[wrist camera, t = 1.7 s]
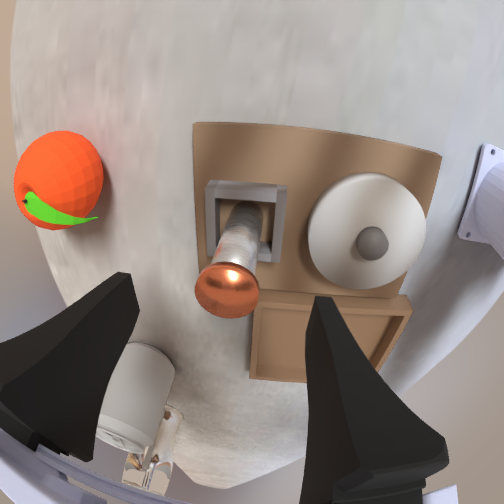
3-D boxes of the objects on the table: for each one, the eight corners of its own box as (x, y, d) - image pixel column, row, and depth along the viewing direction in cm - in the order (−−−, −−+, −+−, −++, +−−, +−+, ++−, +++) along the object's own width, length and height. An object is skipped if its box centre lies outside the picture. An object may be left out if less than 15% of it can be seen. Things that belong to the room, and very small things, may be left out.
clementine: (145, 150, 18) (86, 187, 12) (117, 224, 22) (69, 277, 16) (66, 109, 16) (-2, 132, 10) (49, 181, 20) (-6, 220, 14)
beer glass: (188, 410, 39) (166, 495, 26) (183, 423, 42) (164, 497, 30) (145, 396, 38) (117, 479, 26) (145, 411, 42) (121, 483, 29)
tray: (406, 295, 22) (413, 310, 21) (368, 368, 29) (370, 383, 27) (256, 283, 23) (254, 300, 22) (251, 363, 29) (249, 378, 28)
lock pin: (269, 198, 18) (260, 273, 12) (266, 236, 20) (256, 321, 13) (226, 195, 18) (192, 266, 12) (226, 233, 20) (197, 314, 13)
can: (173, 345, 29) (139, 443, 19) (180, 380, 33) (156, 463, 23) (113, 331, 30) (71, 417, 20) (128, 367, 34) (97, 442, 24)
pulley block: (435, 152, 16) (460, 167, 13) (392, 290, 22) (403, 319, 19) (197, 121, 17) (179, 130, 14) (203, 274, 23) (192, 302, 20)
